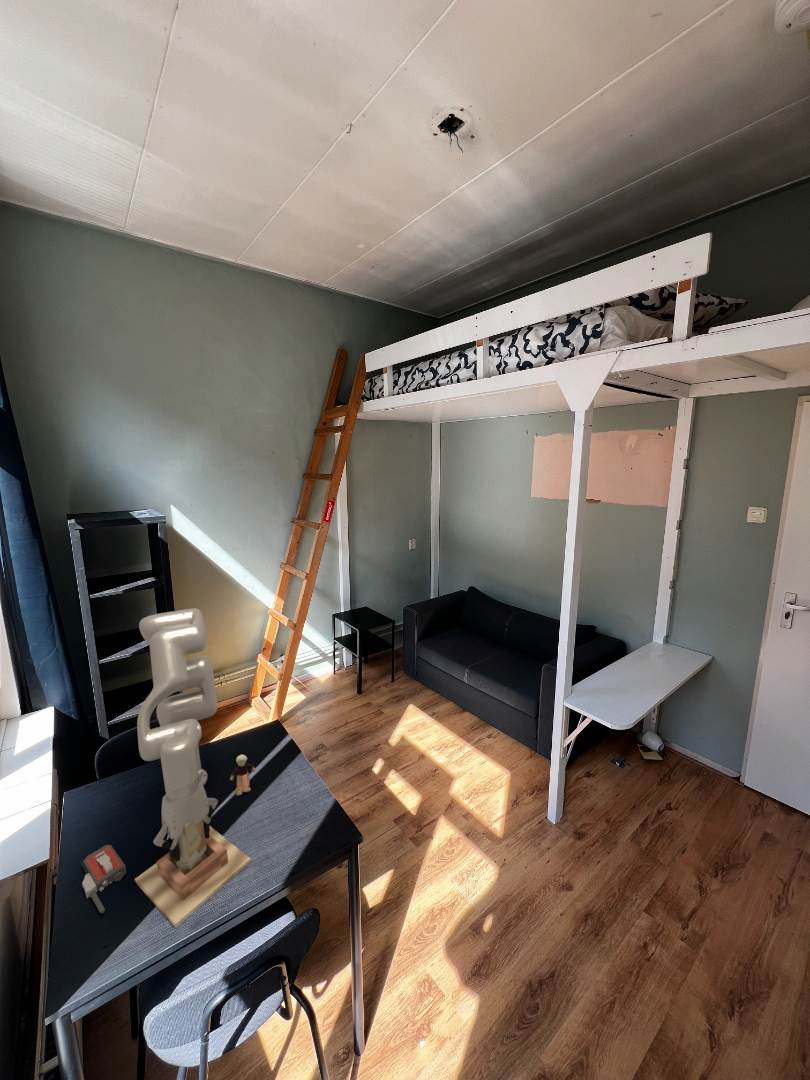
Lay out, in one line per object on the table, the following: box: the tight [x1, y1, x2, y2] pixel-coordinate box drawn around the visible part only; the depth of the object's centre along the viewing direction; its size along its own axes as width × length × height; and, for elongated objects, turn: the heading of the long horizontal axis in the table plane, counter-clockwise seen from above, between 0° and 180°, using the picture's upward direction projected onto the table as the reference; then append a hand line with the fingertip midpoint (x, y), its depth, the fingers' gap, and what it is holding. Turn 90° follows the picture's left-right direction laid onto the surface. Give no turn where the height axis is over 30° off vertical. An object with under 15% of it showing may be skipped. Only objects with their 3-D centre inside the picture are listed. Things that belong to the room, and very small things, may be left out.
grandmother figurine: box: [229, 754, 256, 796], centre depth 140 cm, size 8×4×13 cm, turn 131°
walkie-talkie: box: [81, 844, 127, 914], centre depth 111 cm, size 9×4×20 cm
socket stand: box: [134, 826, 252, 929], centre depth 112 cm, size 20×20×5 cm
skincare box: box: [176, 820, 207, 869], centre depth 111 cm, size 6×4×12 cm
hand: (190, 846), depth 111 cm, fingers closed on skincare box, 7 cm apart
